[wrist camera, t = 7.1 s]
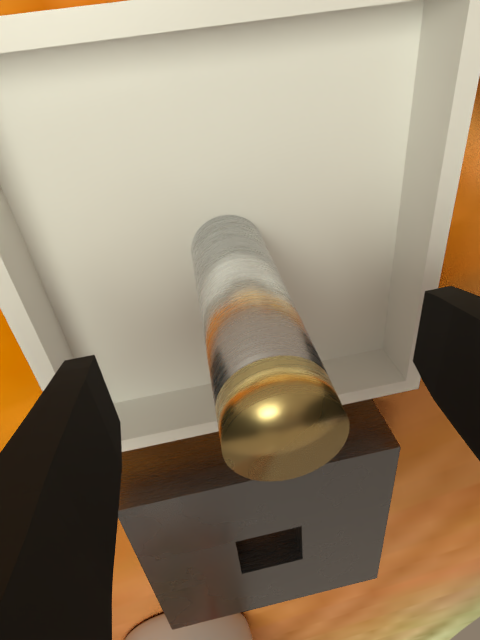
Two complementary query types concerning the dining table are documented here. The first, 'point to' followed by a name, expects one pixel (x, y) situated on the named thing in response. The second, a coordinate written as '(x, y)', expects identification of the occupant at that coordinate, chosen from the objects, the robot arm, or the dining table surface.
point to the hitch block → (256, 522)
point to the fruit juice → (193, 629)
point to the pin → (261, 359)
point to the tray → (227, 182)
